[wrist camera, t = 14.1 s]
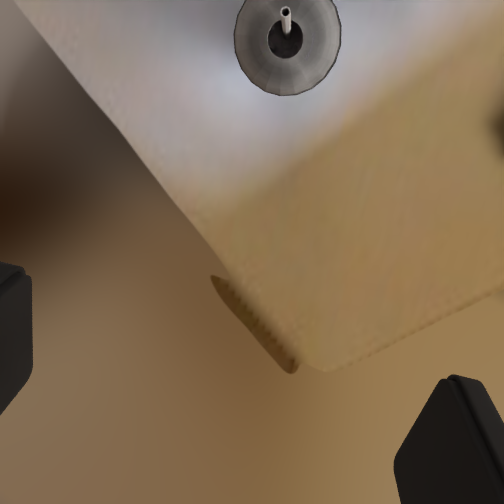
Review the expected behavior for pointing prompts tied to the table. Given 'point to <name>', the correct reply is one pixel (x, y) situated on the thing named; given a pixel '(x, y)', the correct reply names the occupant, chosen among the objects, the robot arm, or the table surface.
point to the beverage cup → (287, 43)
